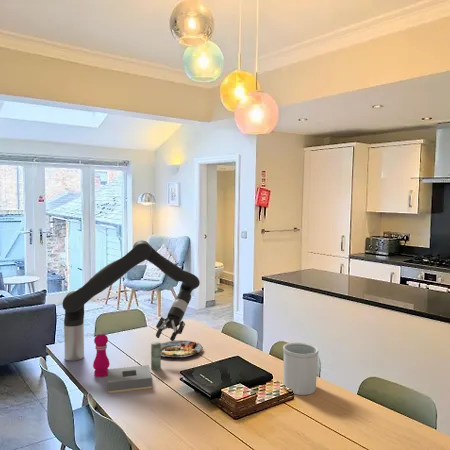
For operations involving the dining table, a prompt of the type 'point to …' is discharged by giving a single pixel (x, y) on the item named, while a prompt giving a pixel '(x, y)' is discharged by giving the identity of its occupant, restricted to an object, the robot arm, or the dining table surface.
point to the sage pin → (155, 356)
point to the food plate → (180, 348)
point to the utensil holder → (300, 367)
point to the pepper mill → (101, 356)
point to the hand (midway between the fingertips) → (164, 338)
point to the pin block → (129, 378)
